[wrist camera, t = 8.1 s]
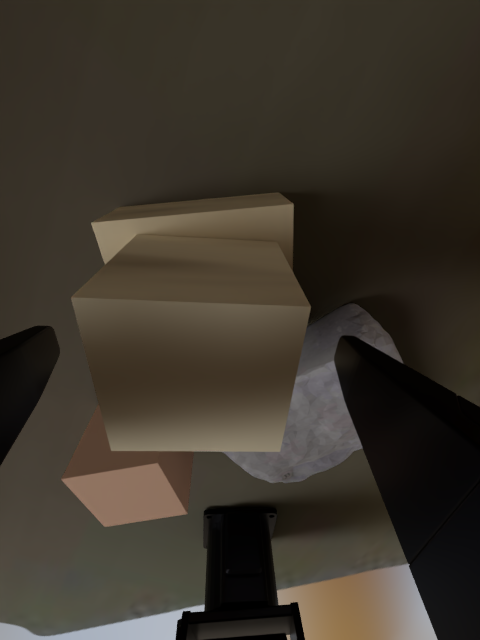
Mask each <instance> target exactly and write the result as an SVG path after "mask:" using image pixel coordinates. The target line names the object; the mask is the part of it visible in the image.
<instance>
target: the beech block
mask: <svg viewBox="0 0 480 640" xmlns="http://www.w3.org/2000/svg"><path fill="white" fill-rule="evenodd" d="M71 300H72V304H73V308H74V311H75V315H76V319H77V323H78V327H79V330H80V334H81V338H82V342H83V346H84V349H85V353H86V357H87V361H88V365H89V368H90V372H91V376H92V380H93V384H94V387H95V391H96V395H97V399H98V403H99V406H100V410H101V414H102V418H103V422H104V425H105V429H106V433H107V437H108V441H109V444H110V448H111V451H212V452H280V450H281V445H282V441H283V436H284V431H285V427H286V422H287V417H288V413H289V408H290V403H291V398H292V394H293V389H294V384H295V380H296V375H297V370H298V366H299V361H300V356H301V352H302V347H303V342H304V338H305V333H306V328H307V324H308V319H309V314H310V310H311V306H310V304H309V302H308V300H307V298H306V296H305V294H304V292H303V290H302V289H301V287H300V285H299V283H298V281H297V279H296V277H295V275H294V273H293V271H292V269H291V268H290V266H289V264H288V262H287V260H286V258H285V256H284V254H283V252H282V250H281V248H280V246H279V245H278V243H277V242H271V241H253V240H234V239H215V238H196V237H177V236H158V235H139V234H137V235H136V236H135V237H134V238H133V239H132V240H131V241H129V242H128V243H127V244H126V245H125V246H124V247H123V248H122V249H121V250H120V251H119V252H118V253H117V254H116V255H115V256H114V257H113V258H112V259H111V260H110V261H109V262H107V263H106V264H105V265H104V266H103V267H102V268H101V269H100V270H99V271H98V272H97V273H96V274H95V275H94V276H93V277H92V278H91V279H90V280H89V281H88V282H87V283H85V284H84V285H83V286H82V287H81V288H80V289H79V290H78V291H77V292H76V293H75V294H74V295H73V296H72V297H71Z"/></svg>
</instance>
